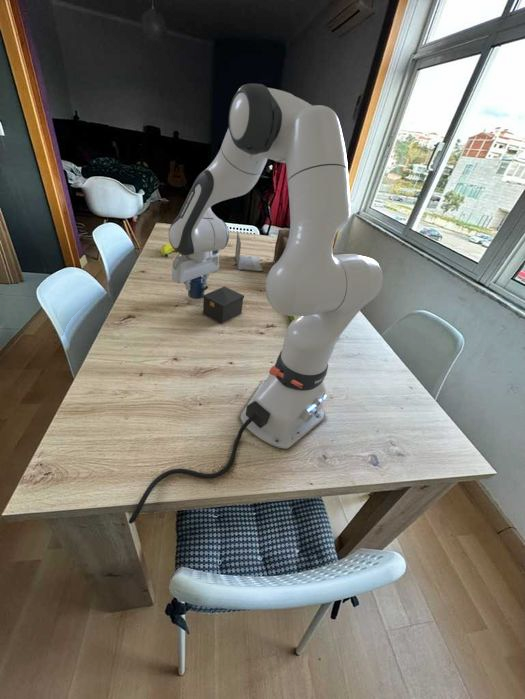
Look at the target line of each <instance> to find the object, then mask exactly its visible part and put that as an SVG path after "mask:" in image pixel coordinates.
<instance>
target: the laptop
mask: <svg viewBox="0 0 525 699" xmlns="http://www.w3.org/2000/svg"><path fill="white" fill-rule="evenodd" d="M235 242H236V243H235V254H234V257H235V261H236V267H237V270H238V271H239V270H240V271H257V272H260V271H261V272H263V271H264V270H263V267H262V264H261V261H260V259H259V256H253V255H251V256H250V255H241V248H242V246H241V245H242V241H241V237H240V234H239V231H237V233H236V241H235Z"/></svg>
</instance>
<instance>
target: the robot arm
mask: <svg viewBox="0 0 525 699" xmlns="http://www.w3.org/2000/svg"><path fill="white" fill-rule="evenodd" d="M268 160H272V161H274V162H275V163H282V164H285V167H286V168H285V169H286V180H287V182H286V183H287V190H288V192H287V194H288V203H289V205H288V206H289V230H290V233H289V238H288V242H287V245H286V248H285V250H284V252H283V254H282V256H281V257H280V259H279V260H278V261H277V262H276V263H274V264H273V266H272V267H271V268H270V269H269V272H268V274H267V276H266V280H265V287H264V288H265V296H266V298H267V302H268V303H269V306H270V307H271V308H272V309H273V310H274V311H275V312H276V313H277V314H278V315H281V316H288V317H289V316H298V317H297V318H295V319H294V320H293V321H292V322H290V323H289V325H288V327H287V329H286V332H285V336H284V339H283V344H282V348H281V350H280V352H279V354H278V356H277V358H276V361H275V363H274V365H272V366H271V367H270V369H269V372H268V373H269V374H268V376H267V377H266V379H264V380H262V382H261V383H260V385H259V386H258V388H257V389H256V391H255V392H254V394H253V395H252V396H251V398H250V400H249V401H248V403H247V404H246V406H245V407H244V408H243V410H242V412H241V413H240V416H239V417H240V420H241V422H242V425H241V427H240V428H239V430H238V432H237V434H236V435H237V436H236V438H235V439H234V440H235V441H234V443H233V447H232V450H231V455H230V457H229V460H228V463H227V464H226V466H225V467H223V468H222V469H221V470H219V471H218V472H214V473H204V472H199V471H195V470H193V469H192V470H191V469H187V468H172V469H169V470H167V471H164V472H162V473H161V474H160V475H158V476H156V478H155V479H154V480H152V482H150V484H149V485H148V486H147V488H146V489H145V491H144V493H143V494H142V496H141V498H140V499H139V502H138V504H137V506H136V507H135V509H134V511H133V512H132V514H131V516H130V518H129V519H128V524H130V525H131V524H133V523H135V521H136V520H137V518H138V516H139V515H140V513H141V510H142V509H143V507H144V505H145V503H146V501H147V499H148V497H149V496H150V494H151V492H152V491H153V489H154V488H155V487H156V486H157V484H159V483H160V482H161V481H162V480H164V479H166V478H167V477H169V476H172V475H178V474H179V475H187V476H192V477H195V478H198V479H204V480H205V479H206V480H212V479H217V478H219V477H221V476H223V475H225V474H226V473H227V472H228V471H229V470H230V469H231V468H232V466H233V464H234V462H235V458H236V452H237V449H238V446H239V443H240V441H241V439H242V436H243V433H244V431H245V430H246V429H247V430H248V431H249V432H251V433H252V434H253V435H254V436H255V437H257V438H258V439H260V440H261V441H264V442H265V443H266V444H268V445H271V446H273V447H275V448H279V449H285V450H286V449H290V448H291V447H292V446H293V445H295V443H297V442H298V441H299V440H300V439H302V437H304V436H305V435H306V434H308V433H309V432H311V430H313V428H315V427H316V426H317V425H319V424H320V423H321V422H322V421H323V420H324V419H325V412H324V411H323V409H322V406H323V402H324V400H325V399H326V398H327V394H326V393H327V389H326V386H325V383H324V380H325V378H326V376H327V373H328V368H329V362H330V359H331V356H332V354H333V351H334V349H335V346H336V345H337V342H338V340H339V339H340V337H341V336H342V335H343V333H344V332H345V331H346V329H347V327H348V326H349V325H350V323H351V322H352V321H353V319H354V318H355V317H356V316H357V315H358V313H359V312H360V311H361V310H362V309H363V308H364V307H365V306H366V305H367V304H369V303H370V302H371V301H373V300H374V299H376V297H377V296H378V295H379V294H380V292H381V291H382V287H383V283H384V276H383V271H382V268H381V266H380V265H379V263H378V261H376V260H375V259H373V258H372V257H369V256H364V255H360V254H355V253H344V254H343V253H341V254H334V253H333V250H334V242H335V238H336V236H337V233H338V232H339V231H340V230H341V229H342V228H344V227H345V225H346V224H348V221H349V219H350V217H351V211H352V210H351V195H350V183H349V182H350V181H349V180H350V179H349V169H348V167H349V166H348V158H347V150H346V144H345V140H344V135H343V131H342V127H341V123H340V120H339V117H338V115H337V113H336V112H335V110H333V109H332V108H331V107H329V106H326V105H323V104H317V105H316V104H314V103H311V104H310V103H309V102H308V101H305V99H302V98H300V97H298V96H295V95H294V94H292V93H290V92H288V91H285V90H281V89H276V88H272V87H267V86H266V85H264V84H261V83H246V84H242V85H241V86H240V87H239V88H238V90H237V91H236V93H235V94H234V95H233V97H232V100H231V103H230V105H229V112H228V127H227V130H226V132H225V135H224V138H223V140H222V143H221V146H220V149H219V150H218V152H217V154H216V156H215V157H214V159H213V160H212V161H211V163H210V164H209V165H208V166H207V168H205V169H204V170H203V171H202V172H200V173H199V175H197V177H196V178H195V180H194V182H193V184H192V186H191V188H190V190H189V192H188V194H187V196H186V198H185V201H184V203H183V204H182V207H181V208H180V210H179V213H178V214H177V216H176V218H175V219H174V220H173V221H172V223H171V224H170V227H169V228H168V241H169V243H170V244H171V246H172V247H173V248H174V249H175V251H176V252H177V253H179V254H178V255H176V257H175V258H174V259H173V260H172V268H171V269H172V270H171V279H172V281H174V282H176V283H177V284H179V285H180V284H183V283H184V285H185V290H186V291H187V292H188V291H190V290H192V286H191V285H190V284H189V283H190V280H192V279H195V278H198V277H202V278H203V279H204V280H205V285H204V286H207V281H208V278H209V276H210V274H212V273H215V272H217V271H218V270H219V266H220V256H219V254H220V251H221V250H224V249H225V248H226V247H227V245H228V243H229V240H230V230H229V227H228V225H227V224H226V222H225V221H224V220H223V219H221V218H219V217H218V216H217V215H216V214H215V213H214V212H213V211H212V210H213V209H212V207H213V206H214V205H216V204H218V203H220V202H224V201H227V200H230V199H233V198H238V197H242V196H244V195H246V194H248V193H249V192H251V190H253V188H254V187H255V185H256V184H257V183H258V182H259V179H260V177H261V175H262V173H263V172H264V168H265V166H266V164H267V162H268Z"/></svg>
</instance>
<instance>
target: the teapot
mask: <svg viewBox="0 0 525 699" xmlns="http://www.w3.org/2000/svg"><path fill="white" fill-rule="evenodd" d="M202 277H203V276H201V277H198V278H195V279H192V280H190V283H189V284H190V285H191V286H192V290H190V291H187V296H188V298H191V299H194V300H200V299H204V298H203V295H205V291H206V290H208V289H209V286H208V285H205V280H204V279H203V278H202Z"/></svg>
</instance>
